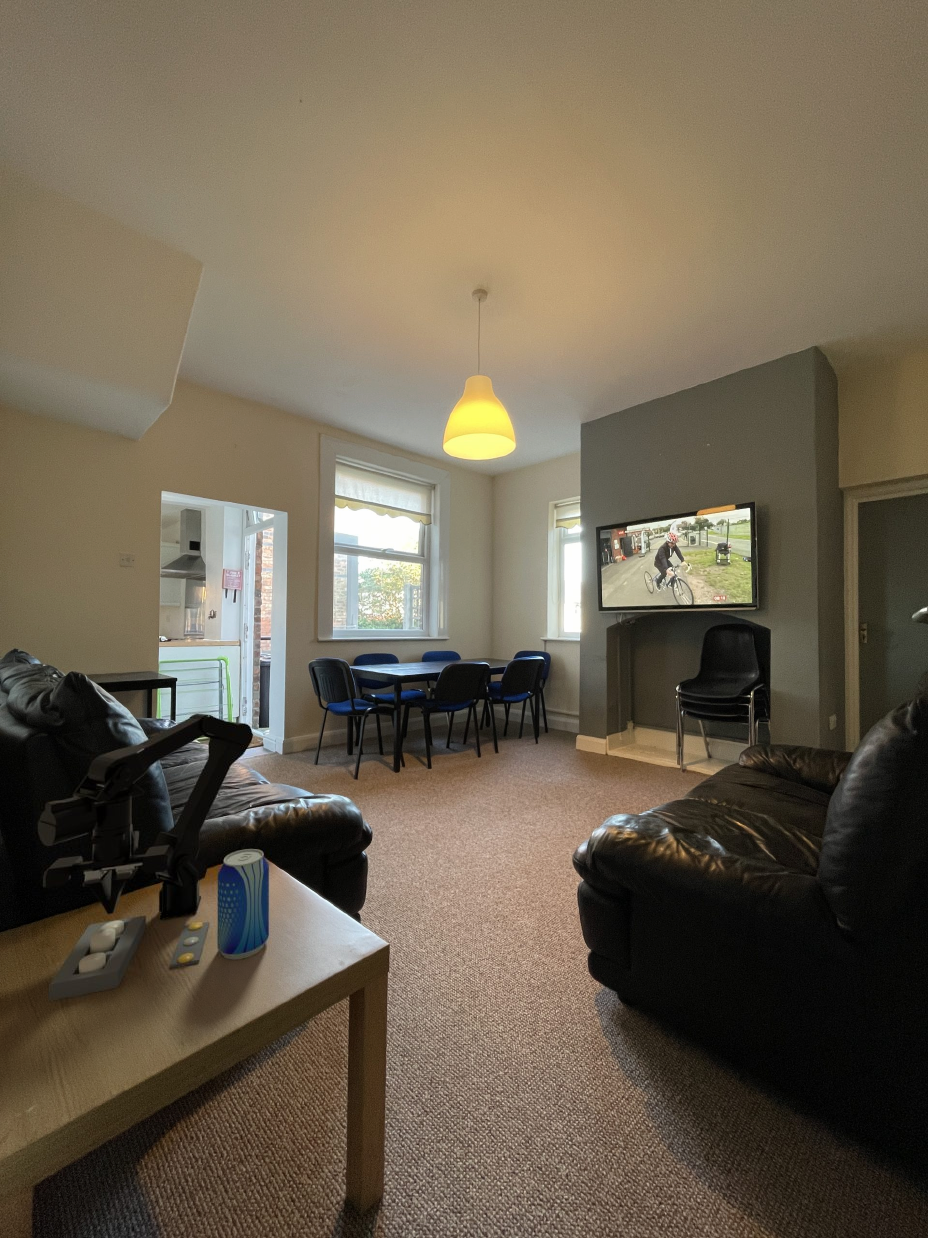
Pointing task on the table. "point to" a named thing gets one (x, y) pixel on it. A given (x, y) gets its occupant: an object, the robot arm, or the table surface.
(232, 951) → the beer can
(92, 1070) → the table surface
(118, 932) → the button
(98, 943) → the button mid
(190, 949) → the pattern tile
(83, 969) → the button
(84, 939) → the button board
